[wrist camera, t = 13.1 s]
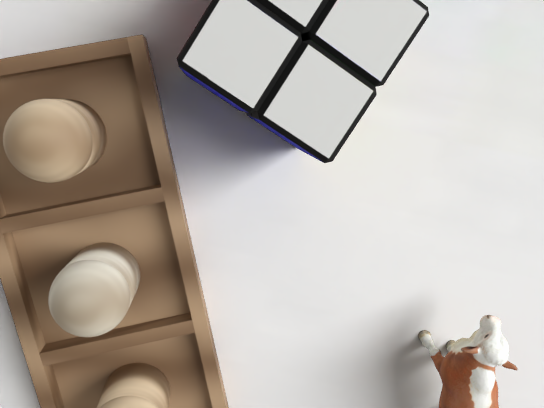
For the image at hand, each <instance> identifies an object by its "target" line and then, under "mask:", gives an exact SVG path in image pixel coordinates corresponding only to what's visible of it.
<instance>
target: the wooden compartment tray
mask: <svg viewBox="0 0 544 408" xmlns="http://www.w3.org/2000/svg"><path fill="white" fill-rule="evenodd" d="M38 99H73V100H77V101H80V102H83V103H85V104H87V105H88V106H90V107H91V108H93V109H94V110H95V111H96V112H97V113H98V115H99V116H100V117H101V119H102V121H103V123H104V125H105V128H106V133H107V142H106V147H105V150H104V153H103V155H102V156H101V158H100V159H99V160H98V161H97V162H96V163H95V164H94V165H93V166H91V167H89V168H88V169H86V170H84V171H82V172H81V173H79V174H77V175H75V176H74V177H72V178H70V179H67V180H64V181H60V182H54V183H47V182H40V181H36V180H33V179H31V178H28V177H27V176H25V175H23V174H22V173H20V172H19V171H18V170H17V169H16V168H15V167H14V166H13V165H12V164H11V162H10V161H9V159H8V157H7V155H6V153H5V150H4V146H3V132H4V128H5V125H6V122H7V120H8V119H9V117H10V116H11V114H12V113H13V112H14V111H15V110H16V109H18V108H19V107H20V106H22V105H24V104H25V103H28V102H30V101H34V100H38ZM102 242H108V243H113V244H117V245H119V246H122V247H123V248H125V249H126V250H128V251H129V252H130V253H131V254H132V255H133V256H134V258H135V259H136V261H137V263H138V265H139V269H140V283H139V286H138V289H137V291H136V293H135V296H134V298H133V300H132V302H131V305H130V307H129V309H128V311H127V313H126V315H125V317H124V318H123V320H122V321H121V322H120V323H119V324H118V325H117V326H116V327H115V328H114V329H112V330H111V331H109V332H107V333H105V334H102V335H99V336H95V337H79V336H75V335H72V334H70V333H68V332H66V331H65V330H63V329H62V328H61V327H60V326H59V325H58V324H57V323H56V322H55V320H54V319H53V317H52V315H51V312H50V309H49V303H48V297H49V291H50V288H51V285H52V283H53V281H54V279H55V277H56V276H57V275H58V274H59V272H60V271H61V270H62V269H63V268H64V267H65V266H66V265H67V264H68V263H69V262H70V261H71V260H72V259H73V258H74V257H75V256H76V255H77V254H78V253H79V252H80V251H81V250H83V249H84V248H86V247H87V246H89V245H92V244H95V243H102ZM0 279H1V282H2V285H3V289H4V292H5V295H6V298H7V301H8V304H9V308H10V311H11V314H12V317H13V320H14V324H15V327H16V330H17V333H18V336H19V340H20V343H21V346H22V349H23V352H24V355H25V359H26V362H27V365H28V368H29V371H30V375H31V378H32V381H33V384H34V387H35V391H36V394H37V397H38V400H39V403H40V406H41V408H97V406H98V403H99V400H100V397H101V395H102V392H103V389H104V386H105V384H106V381H107V379H108V378H109V376H110V375H111V374H112V373H113V372H114V371H115V370H116V369H118V368H120V367H121V366H124V365H126V364H130V363H146V364H149V365H152V366H154V367H156V368H158V369H159V370H160V371H161V372H162V373H163V374H164V375H165V376H166V378H167V380H168V382H169V385H170V399H169V407H168V408H229V407H228V403H227V398H226V394H225V389H224V385H223V381H222V376H221V372H220V367H219V363H218V358H217V354H216V349H215V345H214V340H213V336H212V331H211V327H210V322H209V318H208V313H207V309H206V304H205V300H204V296H203V291H202V287H201V282H200V278H199V273H198V269H197V264H196V260H195V255H194V251H193V246H192V242H191V237H190V233H189V228H188V224H187V219H186V215H185V211H184V206H183V202H182V197H181V193H180V188H179V184H178V179H177V175H176V170H175V166H174V161H173V157H172V152H171V148H170V143H169V139H168V134H167V130H166V126H165V121H164V117H163V112H162V108H161V103H160V99H159V94H158V90H157V85H156V81H155V76H154V72H153V67H152V63H151V58H150V54H149V50H148V45H147V41H146V38H145V37H144V36H143V35H137V36H131V37H125V38H119V39H114V40H108V41H102V42H96V43H90V44H85V45H79V46H73V47H67V48H61V49H55V50H50V51H44V52H38V53H32V54H26V55H21V56H15V57H9V58H3V59H0Z"/></svg>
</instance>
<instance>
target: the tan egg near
mask: <svg viewBox="0 0 544 408" xmlns="http://www.w3.org/2000/svg"><path fill="white" fill-rule="evenodd" d="M106 142H107V133H106V128H105V125H104V123H103V121H102V119H101V117H100V116H99V115H98V113H97V112H96V111H95V110H94V109H93V108H91V107H90V106H88V105H87V104H85V103H83V102H80V101H77V100H73V99H38V100H34V101H30V102H28V103H25V104H24V105H22V106H20V107H19V108H18V109H16V110H15V111H14V112H13V113H12V114H11V116H10V117H9V119H8V120H7V122H6V125H5V128H4V132H3V146H4V150H5V153H6V155H7V157H8V159H9V161H10V162H11V164H12V165H13V166H14V167H15V168H16V169H17V170H18V171H19V172H20V173H22V174H23V175H25V176H27V177H28V178H31V179H33V180H36V181H40V182H47V183H54V182H60V181H64V180H67V179H70V178H72V177H74V176H75V175H77V174H79V173H81V172H82V171H84V170H86V169H88V168H89V167H91V166H93V165H94V164H95V163H96V162H97V161H98V160H99V159H100V158H101V156H102V155H103V153H104V150H105V147H106Z"/></svg>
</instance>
